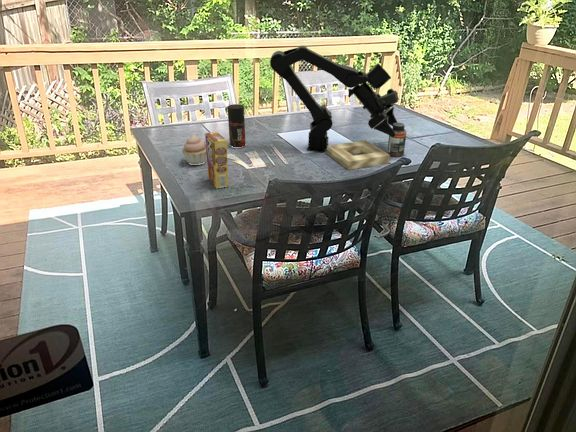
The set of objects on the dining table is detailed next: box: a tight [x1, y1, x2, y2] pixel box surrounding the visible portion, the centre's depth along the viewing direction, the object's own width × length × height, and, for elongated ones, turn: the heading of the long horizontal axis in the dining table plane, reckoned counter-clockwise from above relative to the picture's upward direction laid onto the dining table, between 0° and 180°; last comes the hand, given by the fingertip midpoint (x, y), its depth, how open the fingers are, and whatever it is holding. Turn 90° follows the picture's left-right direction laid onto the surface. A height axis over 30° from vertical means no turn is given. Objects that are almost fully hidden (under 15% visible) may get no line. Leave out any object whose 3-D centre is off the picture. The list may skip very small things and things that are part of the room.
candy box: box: [204, 131, 229, 190], centre depth 142 cm, size 9×4×15 cm, turn 26°
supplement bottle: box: [386, 122, 407, 158], centre depth 165 cm, size 6×6×11 cm
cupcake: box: [181, 134, 207, 164], centre depth 158 cm, size 9×9×10 cm
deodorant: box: [227, 103, 246, 147], centre depth 171 cm, size 6×6×15 cm
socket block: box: [326, 140, 391, 171], centre depth 164 cm, size 16×16×3 cm
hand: (396, 132), depth 164 cm, fingers open, 9 cm apart
